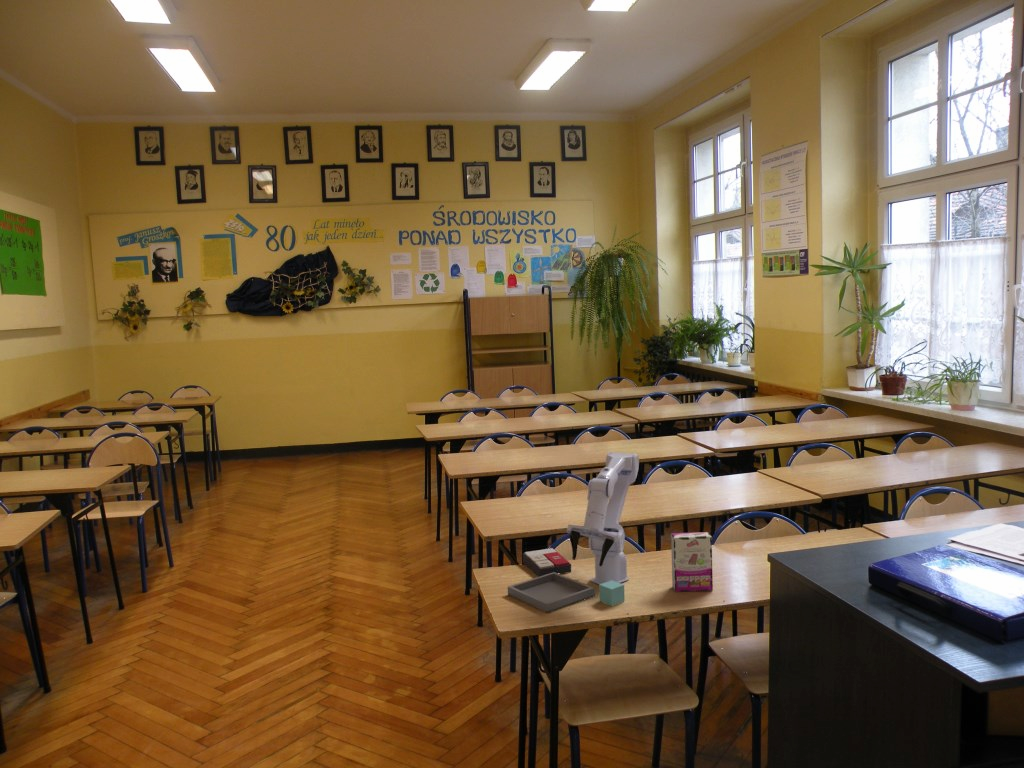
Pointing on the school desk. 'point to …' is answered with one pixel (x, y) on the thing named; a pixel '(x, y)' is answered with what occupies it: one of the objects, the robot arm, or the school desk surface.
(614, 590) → the teal cube
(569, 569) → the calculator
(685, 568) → the candy bar box
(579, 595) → the charcoal tray
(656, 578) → the school desk surface
